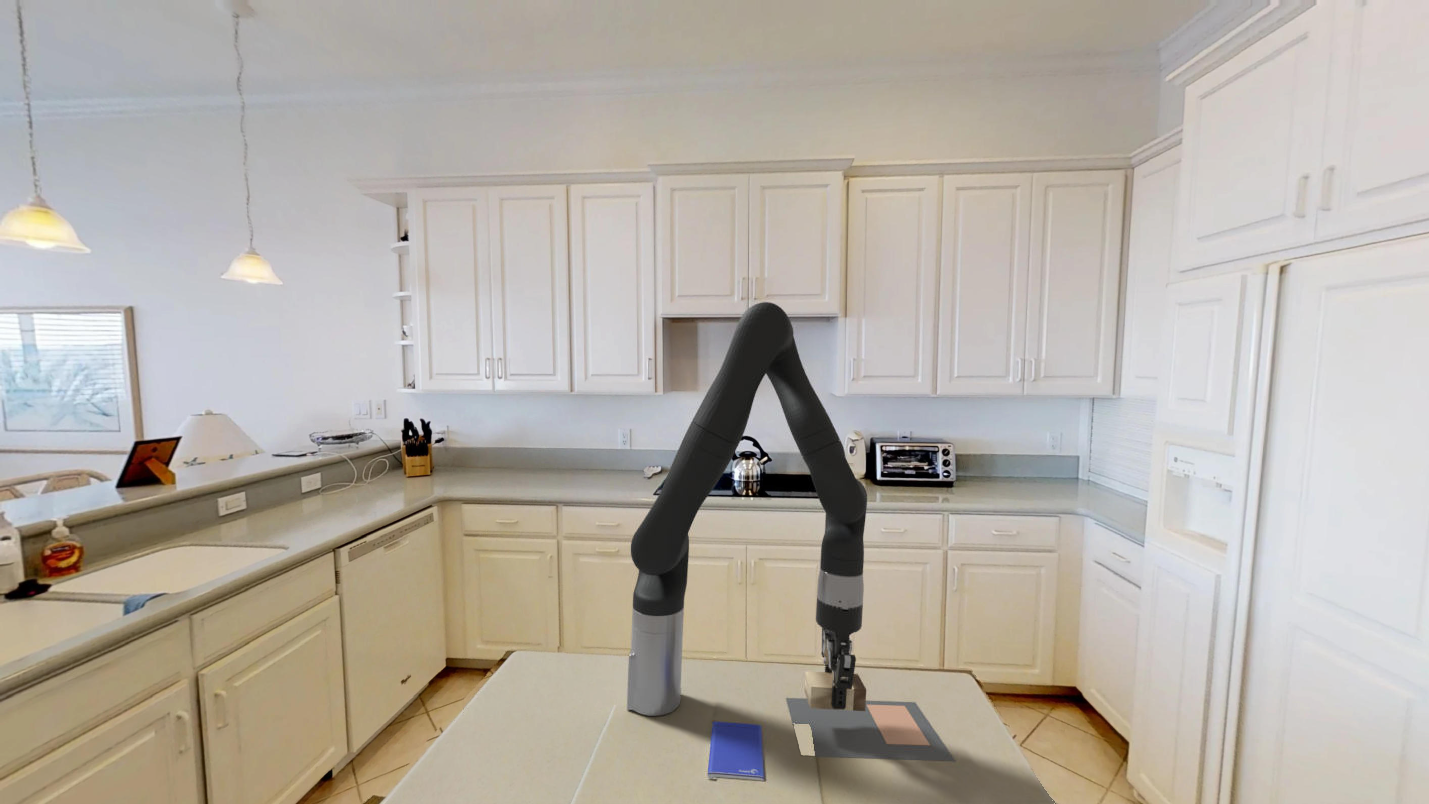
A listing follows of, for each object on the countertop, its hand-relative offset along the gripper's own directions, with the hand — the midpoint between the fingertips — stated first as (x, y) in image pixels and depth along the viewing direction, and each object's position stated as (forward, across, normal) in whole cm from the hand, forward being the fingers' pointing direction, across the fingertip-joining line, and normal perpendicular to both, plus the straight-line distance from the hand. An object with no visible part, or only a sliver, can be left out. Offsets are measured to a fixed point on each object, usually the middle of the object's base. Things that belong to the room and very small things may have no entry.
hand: (834, 697), depth 88 cm
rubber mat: (+6, -1, +6) cm, 8 cm away
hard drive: (+7, +6, -16) cm, 19 cm away
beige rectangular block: (+1, 0, 0) cm, 1 cm away
